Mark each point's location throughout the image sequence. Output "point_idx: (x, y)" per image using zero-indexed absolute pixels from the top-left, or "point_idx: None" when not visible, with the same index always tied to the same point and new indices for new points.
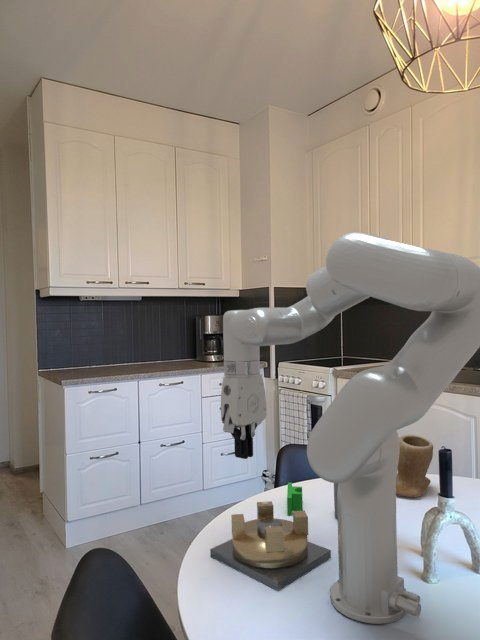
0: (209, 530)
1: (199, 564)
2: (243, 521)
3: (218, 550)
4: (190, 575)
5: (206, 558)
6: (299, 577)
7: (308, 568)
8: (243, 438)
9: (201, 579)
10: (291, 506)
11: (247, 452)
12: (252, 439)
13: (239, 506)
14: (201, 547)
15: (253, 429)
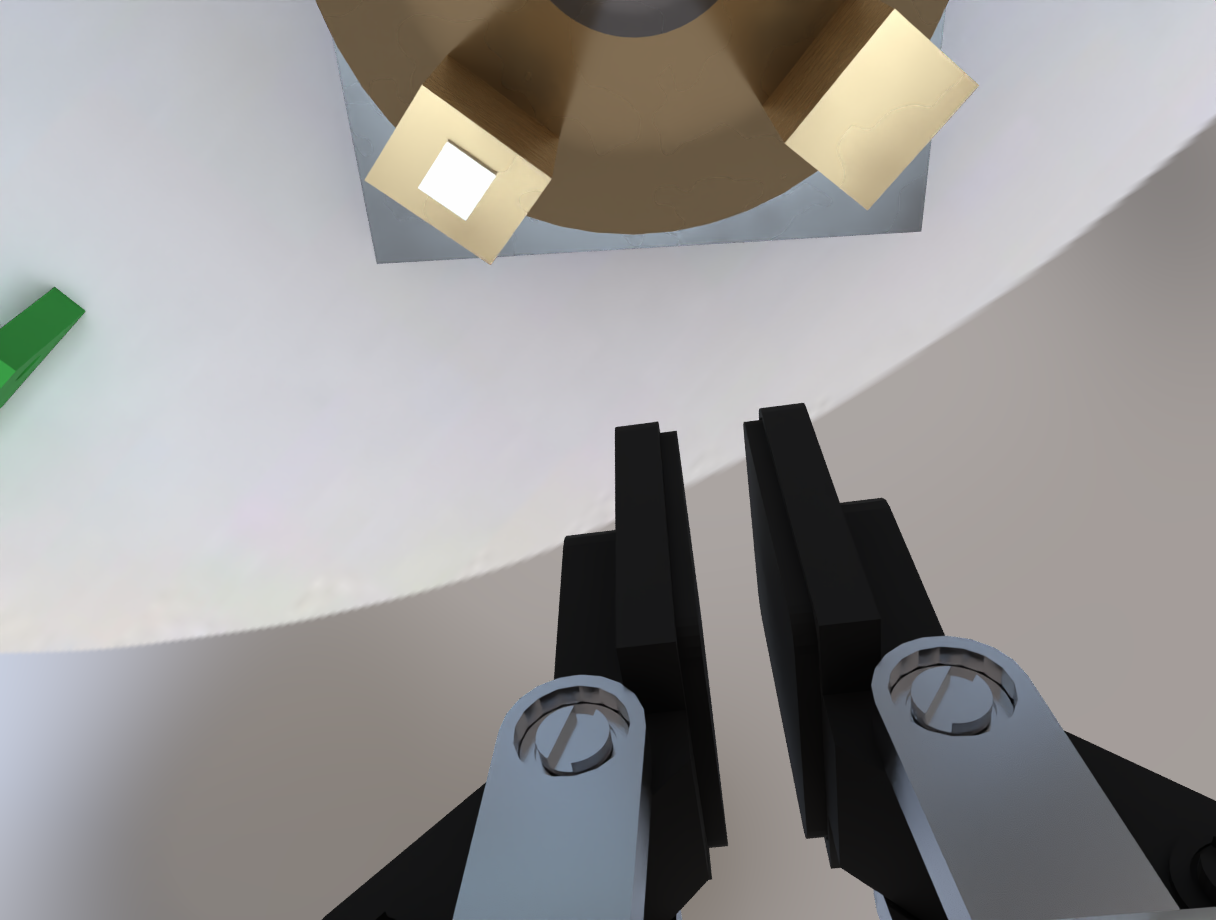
0: None
1: (1025, 184)
2: (900, 14)
3: (898, 178)
4: (1168, 111)
5: (939, 216)
6: None
7: None
8: (952, 668)
9: (1172, 14)
10: (20, 317)
11: (789, 453)
12: (632, 617)
13: (292, 610)
14: (852, 349)
15: (535, 838)
